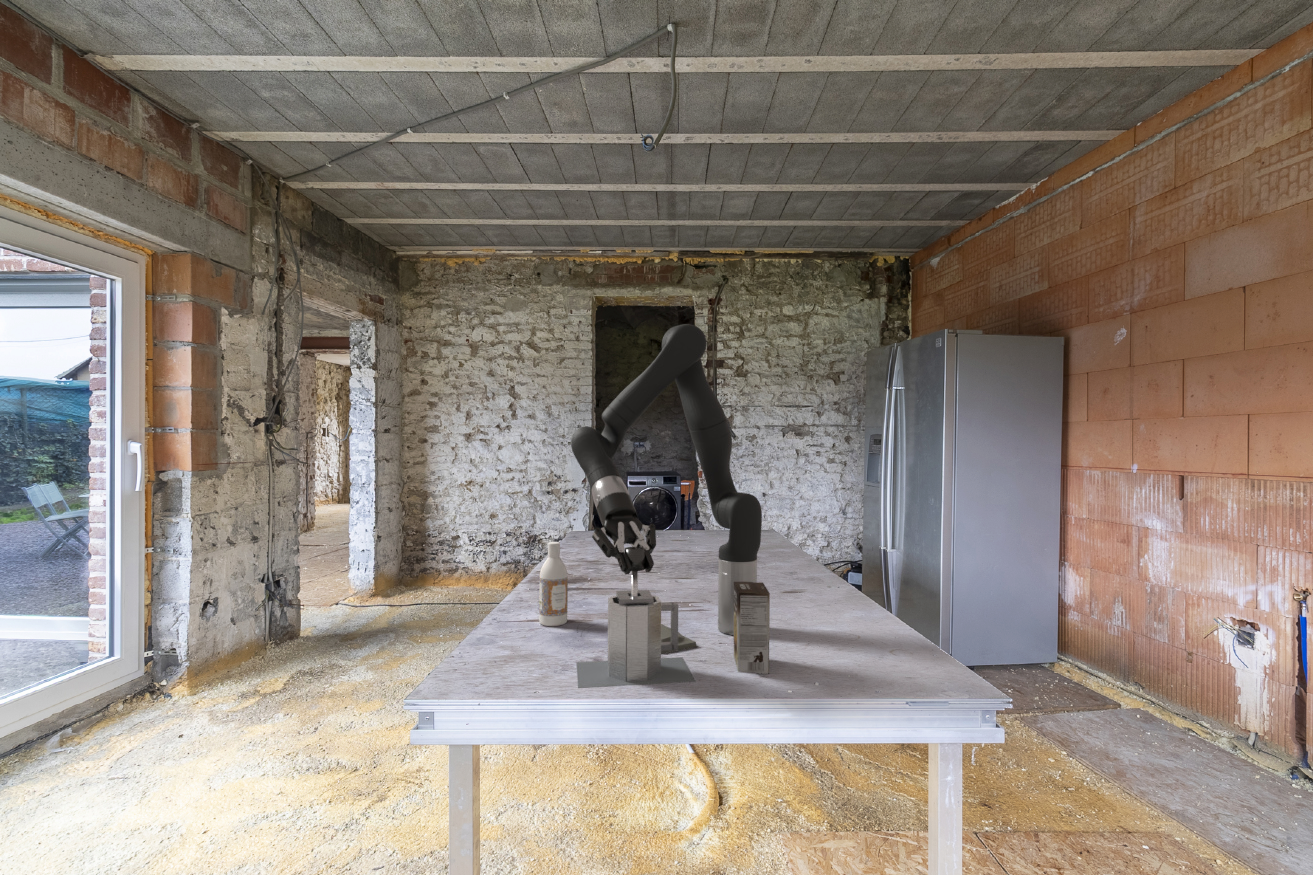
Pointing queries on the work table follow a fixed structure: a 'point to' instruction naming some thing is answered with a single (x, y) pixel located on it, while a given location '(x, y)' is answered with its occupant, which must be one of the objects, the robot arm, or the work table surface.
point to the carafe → (638, 635)
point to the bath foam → (553, 589)
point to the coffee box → (751, 627)
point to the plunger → (635, 566)
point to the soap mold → (682, 640)
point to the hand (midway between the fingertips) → (639, 570)
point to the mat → (599, 677)
